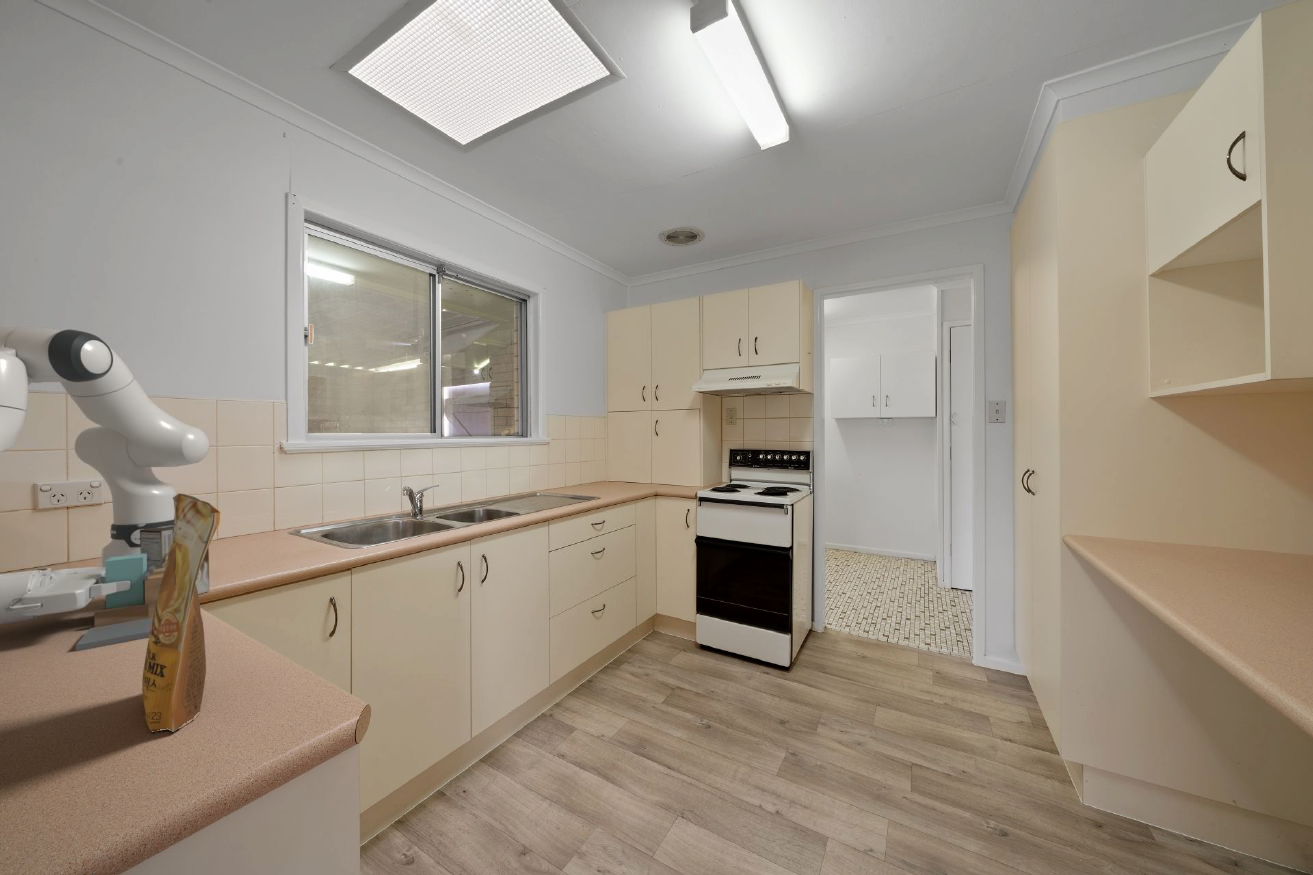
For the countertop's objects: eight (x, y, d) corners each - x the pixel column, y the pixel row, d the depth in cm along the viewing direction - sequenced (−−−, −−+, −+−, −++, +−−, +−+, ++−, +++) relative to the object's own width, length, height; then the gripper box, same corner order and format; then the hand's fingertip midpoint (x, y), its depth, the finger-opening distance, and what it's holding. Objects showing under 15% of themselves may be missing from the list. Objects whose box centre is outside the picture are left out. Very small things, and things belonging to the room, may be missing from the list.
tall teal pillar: (110, 617, 95) (110, 557, 95) (147, 611, 98) (146, 553, 98) (105, 623, 92) (105, 561, 92) (143, 616, 95) (143, 557, 95)
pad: (90, 633, 87) (90, 628, 87) (160, 621, 93) (160, 616, 93) (75, 650, 80) (75, 644, 80) (152, 636, 86) (152, 630, 86)
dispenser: (106, 614, 96) (106, 571, 96) (186, 601, 104) (185, 561, 104) (94, 628, 89) (94, 581, 89) (180, 613, 97) (180, 570, 97)
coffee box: (189, 589, 112) (188, 521, 112) (210, 591, 111) (210, 522, 110) (139, 603, 103) (138, 529, 103) (162, 605, 102) (161, 530, 101)
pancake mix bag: (205, 672, 73) (204, 490, 73) (223, 722, 60) (221, 502, 60) (140, 690, 68) (139, 494, 68) (145, 748, 55) (143, 508, 55)
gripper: (-3, 593, 79) (121, 577, 88) (41, 566, 95) (142, 555, 103) (-2, 631, 79) (122, 611, 88) (41, 598, 95) (143, 584, 103)
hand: (133, 580), depth 96 cm, fingers open, 4 cm apart
